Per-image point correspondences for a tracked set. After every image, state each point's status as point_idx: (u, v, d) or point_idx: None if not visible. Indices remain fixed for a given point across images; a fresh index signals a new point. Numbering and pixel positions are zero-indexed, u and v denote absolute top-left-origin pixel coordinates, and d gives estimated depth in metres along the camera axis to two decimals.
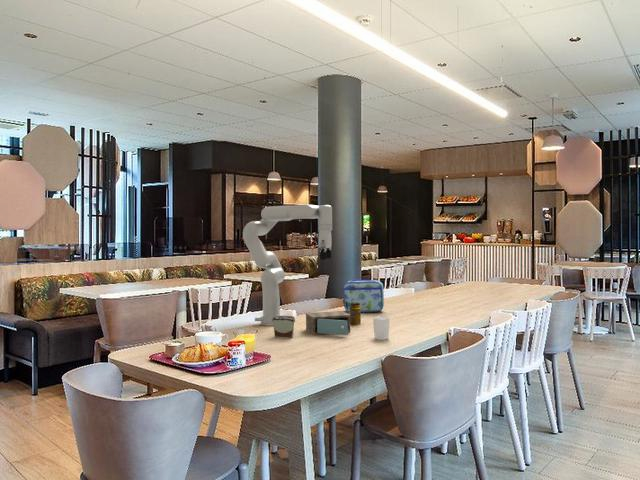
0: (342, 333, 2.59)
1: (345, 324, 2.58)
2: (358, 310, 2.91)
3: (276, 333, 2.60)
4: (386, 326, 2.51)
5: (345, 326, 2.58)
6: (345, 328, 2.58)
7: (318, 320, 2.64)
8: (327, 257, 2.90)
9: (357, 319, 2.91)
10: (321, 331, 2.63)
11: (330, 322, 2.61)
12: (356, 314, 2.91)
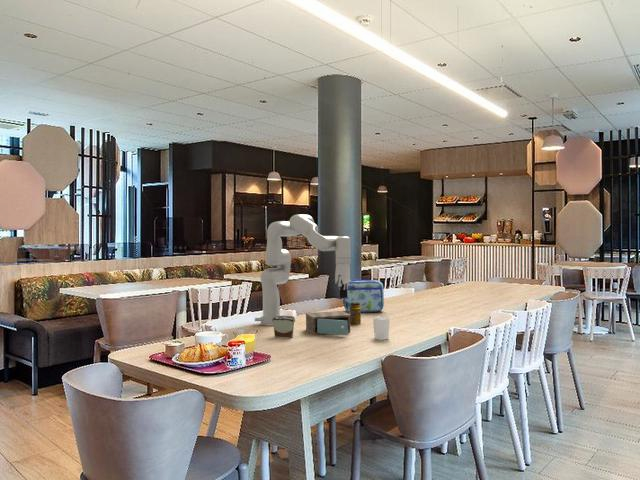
0: (342, 333, 2.59)
1: (345, 324, 2.58)
2: (358, 310, 2.91)
3: (276, 333, 2.60)
4: (386, 326, 2.51)
5: (345, 326, 2.58)
6: (345, 328, 2.58)
7: (318, 320, 2.64)
8: None
9: (357, 319, 2.91)
10: (321, 331, 2.63)
11: (330, 322, 2.61)
12: (356, 314, 2.91)
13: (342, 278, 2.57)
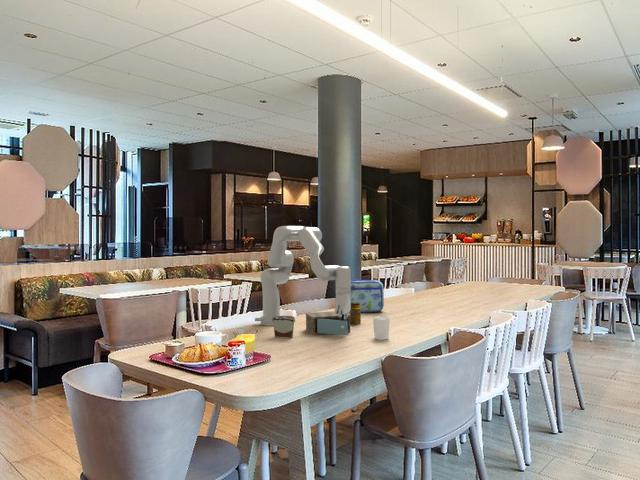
0: (342, 333, 2.59)
1: (345, 324, 2.58)
2: (358, 310, 2.91)
3: (276, 333, 2.60)
4: (386, 326, 2.51)
5: (345, 326, 2.58)
6: (345, 328, 2.58)
7: (318, 320, 2.64)
8: None
9: (357, 319, 2.91)
10: (321, 331, 2.63)
11: (330, 322, 2.61)
12: (356, 314, 2.91)
13: (342, 308, 2.57)
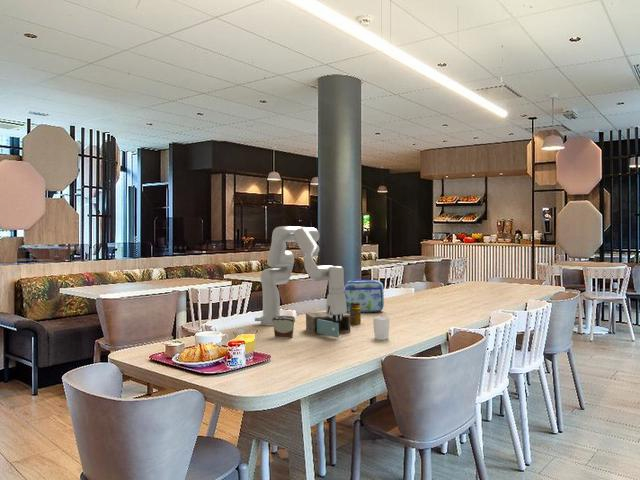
0: (334, 335, 2.54)
1: (336, 326, 2.53)
2: (358, 310, 2.91)
3: (276, 333, 2.60)
4: (386, 326, 2.51)
5: (336, 328, 2.53)
6: (336, 330, 2.53)
7: (317, 320, 2.64)
8: None
9: (357, 319, 2.91)
10: (319, 331, 2.63)
11: (325, 323, 2.59)
12: (356, 314, 2.91)
13: (331, 309, 2.53)
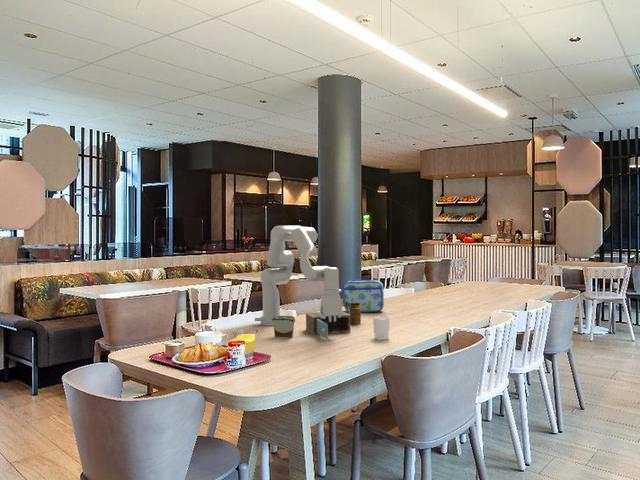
0: (324, 336, 2.52)
1: (325, 327, 2.50)
2: (358, 310, 2.91)
3: (276, 333, 2.60)
4: (386, 326, 2.51)
5: (325, 329, 2.50)
6: (325, 331, 2.50)
7: (316, 320, 2.64)
8: None
9: (357, 319, 2.91)
10: (317, 331, 2.63)
11: (320, 323, 2.58)
12: (356, 314, 2.91)
13: (323, 310, 2.53)
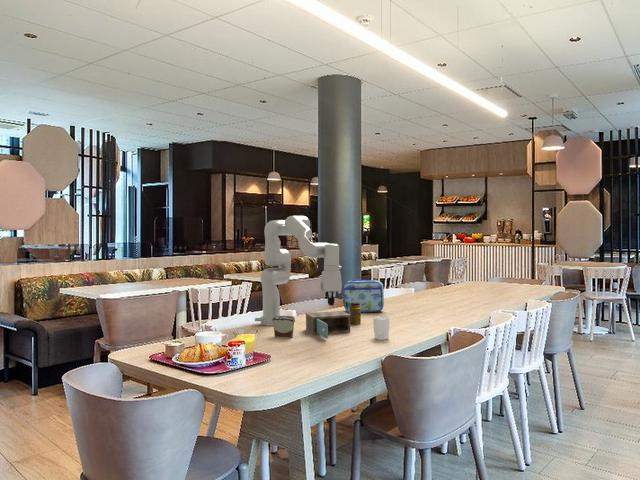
0: (324, 336, 2.52)
1: (325, 327, 2.50)
2: (358, 310, 2.91)
3: (276, 333, 2.60)
4: (386, 326, 2.51)
5: (325, 329, 2.50)
6: (325, 331, 2.50)
7: (316, 320, 2.64)
8: None
9: (357, 319, 2.91)
10: (317, 331, 2.63)
11: (320, 323, 2.58)
12: (356, 314, 2.91)
13: (323, 285, 2.57)
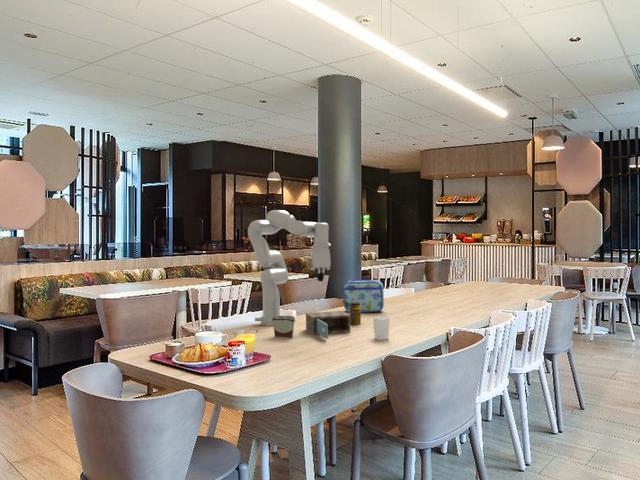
0: (324, 336, 2.52)
1: (325, 327, 2.50)
2: (358, 310, 2.91)
3: (276, 333, 2.60)
4: (386, 326, 2.51)
5: (325, 329, 2.50)
6: (325, 331, 2.50)
7: (316, 320, 2.64)
8: None
9: (357, 319, 2.91)
10: (317, 331, 2.63)
11: (320, 323, 2.58)
12: (356, 314, 2.91)
13: (312, 262, 2.71)
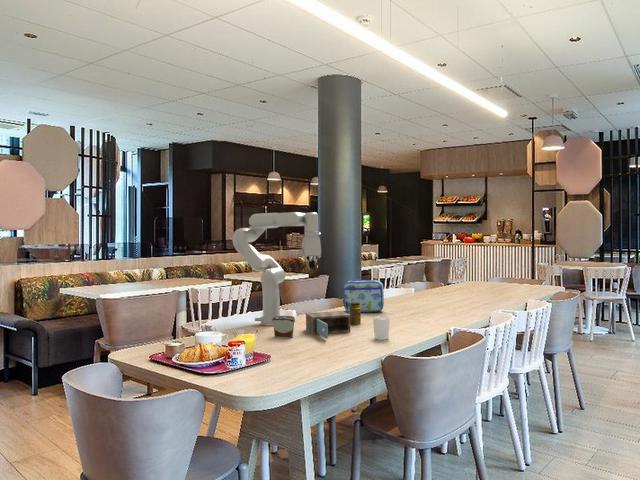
0: (324, 336, 2.52)
1: (325, 327, 2.50)
2: (358, 310, 2.91)
3: (276, 333, 2.60)
4: (386, 326, 2.51)
5: (325, 329, 2.50)
6: (325, 331, 2.50)
7: (316, 320, 2.64)
8: None
9: (357, 319, 2.91)
10: (317, 331, 2.63)
11: (320, 323, 2.58)
12: (356, 314, 2.91)
13: (304, 250, 2.84)
